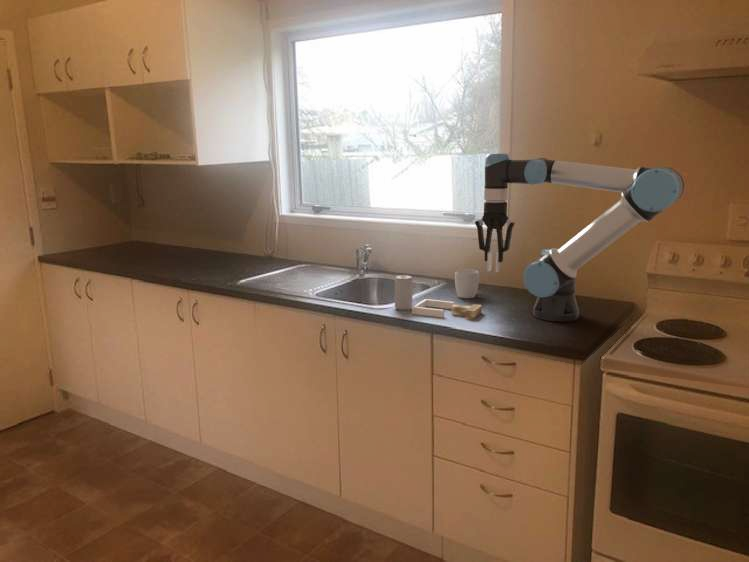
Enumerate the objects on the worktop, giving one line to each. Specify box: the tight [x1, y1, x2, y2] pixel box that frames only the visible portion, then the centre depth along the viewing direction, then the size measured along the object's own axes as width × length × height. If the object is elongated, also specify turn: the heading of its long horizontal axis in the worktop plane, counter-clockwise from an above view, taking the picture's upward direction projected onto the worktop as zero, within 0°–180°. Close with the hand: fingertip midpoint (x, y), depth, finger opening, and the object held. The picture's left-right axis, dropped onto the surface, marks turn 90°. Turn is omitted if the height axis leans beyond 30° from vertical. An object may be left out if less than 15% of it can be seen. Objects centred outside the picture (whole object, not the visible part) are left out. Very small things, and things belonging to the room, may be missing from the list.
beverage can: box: [394, 274, 414, 312], centre depth 225 cm, size 6×6×12 cm
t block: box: [451, 303, 483, 321], centre depth 217 cm, size 9×9×3 cm
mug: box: [454, 268, 480, 299], centre depth 243 cm, size 13×9×10 cm
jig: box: [411, 298, 456, 318], centre depth 222 cm, size 12×12×2 cm
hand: (493, 270), depth 209 cm, fingers open, 2 cm apart
